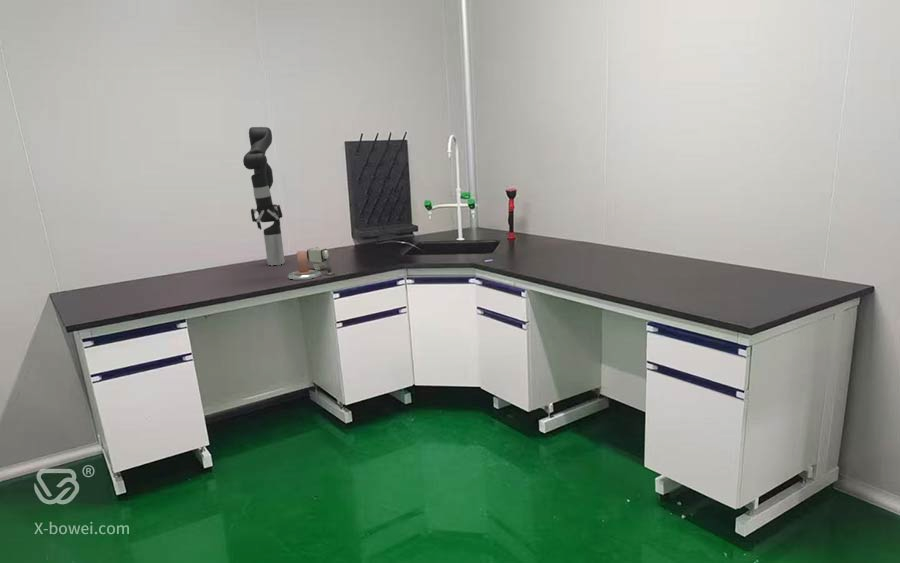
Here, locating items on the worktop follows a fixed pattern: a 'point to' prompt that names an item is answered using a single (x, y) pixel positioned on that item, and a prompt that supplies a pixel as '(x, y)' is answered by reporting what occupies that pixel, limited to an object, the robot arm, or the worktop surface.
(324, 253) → the dial post
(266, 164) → the robot arm
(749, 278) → the worktop surface
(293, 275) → the disc
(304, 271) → the cast cover
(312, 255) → the pneumatic valve
